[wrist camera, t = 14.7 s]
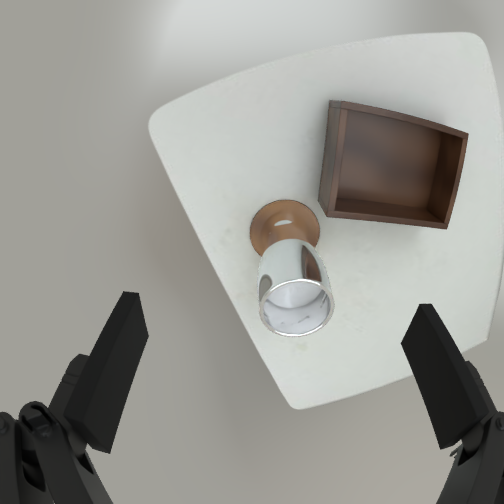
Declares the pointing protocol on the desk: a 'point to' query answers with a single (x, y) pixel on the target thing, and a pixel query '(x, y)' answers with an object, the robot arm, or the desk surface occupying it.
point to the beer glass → (292, 279)
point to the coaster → (278, 208)
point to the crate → (389, 166)
